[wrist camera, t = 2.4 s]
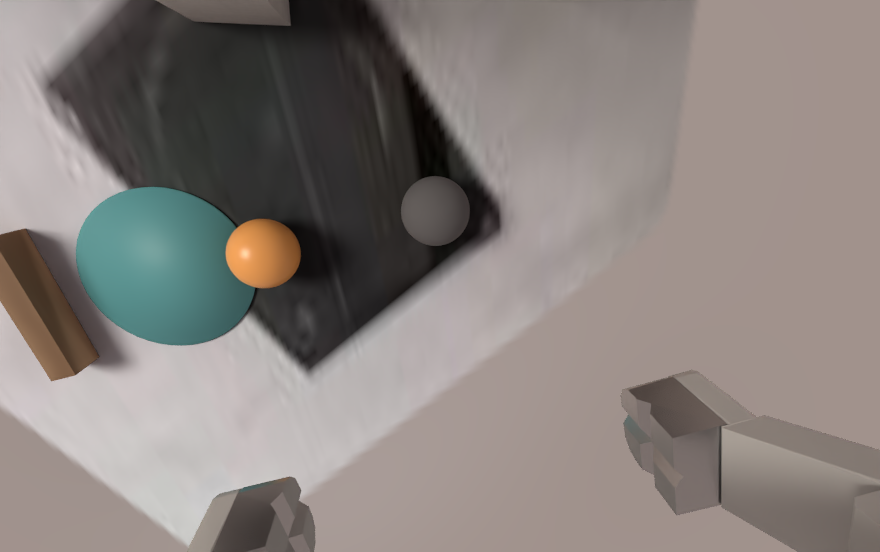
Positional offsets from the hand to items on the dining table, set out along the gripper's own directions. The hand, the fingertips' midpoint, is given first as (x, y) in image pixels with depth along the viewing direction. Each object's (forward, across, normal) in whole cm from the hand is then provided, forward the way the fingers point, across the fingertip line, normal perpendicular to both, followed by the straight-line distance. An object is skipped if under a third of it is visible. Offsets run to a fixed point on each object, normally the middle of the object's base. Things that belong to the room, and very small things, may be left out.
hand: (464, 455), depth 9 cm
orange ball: (+26, +12, 0) cm, 29 cm away
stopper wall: (+29, +31, 0) cm, 43 cm away
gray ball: (+27, -2, 0) cm, 27 cm away
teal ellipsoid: (+29, +21, 0) cm, 36 cm away
